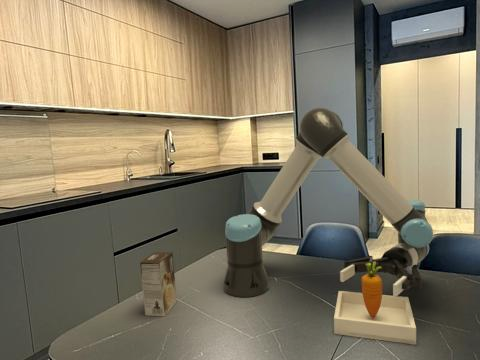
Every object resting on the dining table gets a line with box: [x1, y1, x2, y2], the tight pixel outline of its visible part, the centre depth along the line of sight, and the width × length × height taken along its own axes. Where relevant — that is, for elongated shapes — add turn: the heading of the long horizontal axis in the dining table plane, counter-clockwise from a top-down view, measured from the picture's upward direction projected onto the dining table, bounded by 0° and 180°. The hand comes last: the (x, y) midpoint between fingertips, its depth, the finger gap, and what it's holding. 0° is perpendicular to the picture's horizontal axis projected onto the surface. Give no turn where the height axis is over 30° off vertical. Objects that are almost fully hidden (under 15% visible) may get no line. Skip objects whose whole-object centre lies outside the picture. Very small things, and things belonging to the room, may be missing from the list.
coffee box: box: [139, 251, 178, 317], centre depth 102 cm, size 9×6×16 cm
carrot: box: [361, 262, 383, 318], centre depth 88 cm, size 5×5×15 cm
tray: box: [333, 290, 417, 346], centre depth 89 cm, size 18×16×4 cm
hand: (366, 283), depth 85 cm, fingers open, 13 cm apart
